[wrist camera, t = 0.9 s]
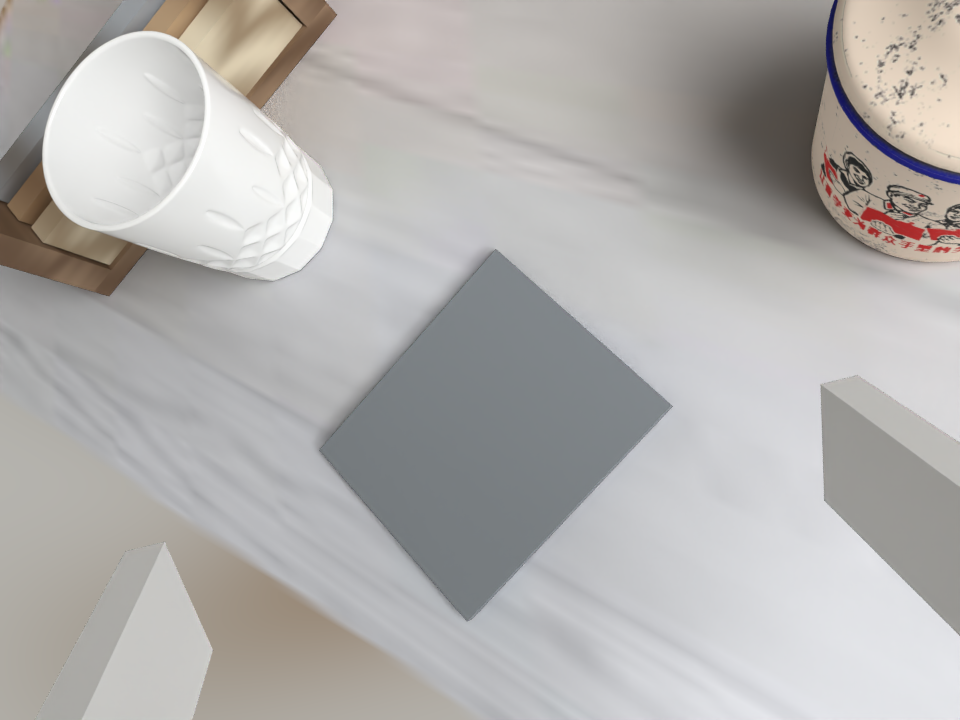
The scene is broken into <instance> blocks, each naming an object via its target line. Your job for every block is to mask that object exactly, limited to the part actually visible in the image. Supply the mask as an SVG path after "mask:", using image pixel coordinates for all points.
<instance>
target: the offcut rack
mask: <svg viewBox="0 0 960 720" xmlns="http://www.w3.org/2000/svg"><path fill="white" fill-rule="evenodd" d="M336 15H337V14H336V13H335V12H334V11H333V10H332V8H331V7H330V6H329V5H328V4H327V3H326V2H325V0H123V2H122V3H121V4H120V5H119V7H118V8H117V9H116V11H115V12H114V13H113V15H112V16H111V17H110V19H109V20H108V21H107V22H106V24H105V25H104V26H103V28H102V29H101V30H100V32H99V33H98V34H97V35H96V37H95V38H94V39H93V41H92V42H91V43H90V45H89V46H88V47H87V49H86V50H85V51H84V52H83V54H82V55H81V56H80V58H79V59H78V60H77V62H76V63H75V64H74V65H73V67H72V68H71V69H70V71H69V72H68V73H67V75H66V76H65V77H64V79H63V80H62V81H61V82H60V84H59V85H58V86H57V88H56V89H55V90H54V92H53V93H52V94H51V95H50V97H49V98H48V99H47V101H46V102H45V103H44V105H43V106H42V107H41V109H40V110H39V111H38V112H37V114H36V115H35V116H34V118H33V119H32V120H31V122H30V123H29V124H28V125H27V127H26V128H25V129H24V131H23V132H22V133H21V135H20V136H19V137H18V138H17V140H16V141H15V142H14V144H13V145H12V146H11V148H10V149H9V150H8V152H7V153H6V154H5V155H4V157H3V158H2V159H1V161H0V265H3V266H7V267H10V268H14V269H17V270H21V271H24V272H28V273H31V274H34V275H38V276H41V277H45V278H48V279H52V280H55V281H58V282H62V283H65V284H69V285H72V286H76V287H79V288H83V289H86V290H89V291H93V292H96V293H100V294H103V295H107V296H110V294H111V293H112V292H113V291H114V290H115V288H116V287H117V286H118V285H119V283H120V282H121V281H122V280H123V278H124V277H125V276H126V275H127V273H128V272H129V271H130V270H131V269H132V267H133V266H134V265H135V264H136V262H137V261H138V260H139V259H140V257H141V256H142V255H143V254H144V252H145V251H146V250H147V249H148V248H145V247H142V246H139V245H136V244H133V243H130V242H127V241H124V240H121V239H118V238H115V237H112V236H109V235H106V234H103V233H100V232H97V231H94V230H90V229H87V228H85V227H82V226H80V225H78V224H76V223H74V222H73V221H71V220H70V219H69V218H67V217H66V216H65V215H64V214H63V213H62V212H61V211H60V209H59V208H58V207H57V206H56V204H55V203H54V201H53V199H52V197H51V195H50V193H49V190H48V188H47V185H46V181H45V177H44V172H43V164H42V147H43V138H44V132H45V128H46V124H47V120H48V117H49V114H50V111H51V108H52V106H53V104H54V101H55V99H56V97H57V95H58V93H59V92H60V90H61V88H62V86H63V85H64V83H65V82H66V80H67V79H68V77H69V76H70V75H71V73H72V72H73V71H74V70H75V68H76V67H77V66H78V65H79V64H80V63H81V62H82V61H83V60H84V59H85V58H86V57H87V56H88V55H89V54H91V53H92V52H93V51H94V50H96V49H97V48H98V47H100V46H101V45H103V44H105V43H106V42H108V41H110V40H112V39H114V38H116V37H119V36H121V35H124V34H128V33H132V32H137V31H156V32H161V33H165V34H168V35H171V36H173V37H175V38H177V39H178V40H180V41H181V42H183V43H184V44H185V45H187V46H188V47H189V48H190V49H191V50H192V51H193V52H194V53H196V54H197V55H198V56H199V57H200V58H201V59H203V60H204V61H205V62H206V63H207V64H208V65H209V66H211V67H212V68H213V69H214V70H215V71H216V72H218V73H219V74H220V75H221V76H222V77H223V78H225V79H226V80H227V81H228V82H229V83H230V84H232V85H233V86H234V87H235V88H236V89H237V90H239V91H240V92H241V93H242V94H243V95H244V96H246V97H247V98H248V99H249V100H250V101H251V102H253V103H254V104H255V105H256V106H257V107H258V108H259V109H261V108H262V107H263V106H264V104H265V103H266V102H267V101H268V99H269V98H270V97H271V96H272V94H273V93H274V92H275V91H276V89H277V88H278V87H279V86H280V85H281V83H282V82H283V81H284V80H285V78H286V77H287V76H288V75H289V73H290V72H291V71H292V70H293V68H294V67H295V66H296V65H297V64H298V62H299V61H300V60H301V59H302V57H303V56H304V55H305V54H306V52H307V51H308V50H309V49H310V47H311V46H312V45H313V44H314V43H315V41H316V40H317V39H318V38H319V36H320V35H321V34H322V33H323V31H324V30H325V29H326V28H327V26H328V25H329V24H330V23H331V22H332V20H333V19H334V18H335V17H336Z"/></svg>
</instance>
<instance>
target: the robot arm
mask: <svg viewBox="0 0 960 720" xmlns="http://www.w3.org/2000/svg"><path fill="white" fill-rule="evenodd" d="M821 414H822V445H823V476H824V501H825V502H826V503H827V504H828V505H829V506H830V507H831V508H832V509H833V510H834V511H835V512H836V513H837V514H838V515H839V516H840V517H841V518H842V519H843V520H844V521H845V522H846V523H847V524H848V525H849V526H850V527H851V528H852V529H853V530H854V531H855V532H856V533H857V534H858V535H859V536H860V537H861V538H862V539H863V540H864V541H865V542H866V543H867V544H868V545H869V546H870V547H871V548H872V549H873V550H874V551H875V552H876V553H877V554H878V555H879V556H880V557H881V558H882V559H883V560H884V561H885V562H886V563H887V564H888V565H889V566H890V567H891V568H892V569H893V570H894V571H895V572H896V573H897V574H898V575H899V576H900V577H901V578H902V579H903V580H904V581H905V582H906V583H907V584H908V585H909V586H910V587H911V588H912V589H913V590H914V591H915V592H916V593H917V594H918V595H919V596H921V597H922V598H923V599H924V600H925V601H926V602H927V603H928V604H929V605H930V606H931V607H932V608H933V609H934V610H935V611H936V612H937V613H938V614H939V615H940V616H941V617H942V618H943V619H944V620H945V621H946V622H947V623H948V624H949V625H950V626H951V627H952V628H953V629H954V630H955V631H956V632H957V633H958V634H959V635H960V443H959V442H958V441H956V440H955V439H953V438H952V437H950V436H949V435H947V434H946V433H944V432H943V431H941V430H940V429H938V428H937V427H935V426H934V425H932V424H931V423H929V422H928V421H926V420H925V419H923V418H922V417H920V416H919V415H917V414H916V413H914V412H913V411H911V410H909V409H908V408H906V407H905V406H903V405H902V404H900V403H899V402H897V401H896V400H894V399H893V398H891V397H890V396H888V395H887V394H885V393H884V392H882V391H881V390H879V389H878V388H876V387H875V386H873V385H872V384H870V383H869V382H867V381H866V380H864V379H863V378H861V377H860V376H858V375H857V376H853V377H849V378H844V379H840V380H836V381H832V382H828V383H824V384H821ZM212 652H213V649H212V647H211V645H210V642H209V640H208V638H207V636H206V633H205V631H204V629H203V627H202V624H201V622H200V620H199V618H198V616H197V613H196V611H195V609H194V607H193V604H192V602H191V600H190V598H189V595H188V593H187V591H186V589H185V586H184V584H183V582H182V580H181V577H180V575H179V573H178V571H177V568H176V566H175V564H174V562H173V559H172V557H171V555H170V553H169V550H168V548H167V546H166V544H165V542H162V543H157V544H153V545H149V546H145V547H141V548H137V549H132V550H128V551H125V553H124V555H123V556H122V558H121V560H120V562H119V564H118V566H117V568H116V569H115V571H114V573H113V575H112V577H111V579H110V581H109V583H108V584H107V586H106V588H105V590H104V592H103V594H102V596H101V597H100V599H99V601H98V603H97V605H96V607H95V609H94V610H93V612H92V614H91V616H90V618H89V620H88V622H87V624H86V625H85V627H84V629H83V631H82V633H81V635H80V636H79V638H78V640H77V642H76V644H75V646H74V648H73V650H72V651H71V653H70V655H69V657H68V659H67V661H66V662H65V665H64V666H63V668H62V670H61V672H60V674H59V675H58V677H57V679H56V681H55V683H54V685H53V687H52V689H51V690H50V692H49V694H48V696H47V698H46V700H45V701H44V703H43V705H42V707H41V709H40V711H39V713H38V714H37V716H36V718H35V720H192V719H193V716H194V712H195V709H196V706H197V702H198V699H199V696H200V692H201V689H202V686H203V682H204V679H205V675H206V672H207V669H208V665H209V662H210V658H211V655H212Z"/></svg>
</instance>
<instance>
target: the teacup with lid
mask: <svg viewBox="0 0 960 720" xmlns="http://www.w3.org/2000/svg"><path fill="white" fill-rule="evenodd" d="M826 59H827V68H828V70H827V75H826V79H825V84H824V89H823V94H822V99H821V103H820V108H819V113H818V118H817V123H816V127H815V132H814V137H813V143H812V156H811V162H812V171H813V176H814V181H815V184H816V187H817V190H818V193H819V195H820V197H821V199H822V201H823V203H824V205H825V206H826V208H827V210H828V211H829V213H830V214H831V215H832V216H833V218H834V219H835V220H836V221H837V222H838V223H839V224H840V225H841V226H842V227H843V228H844V229H845V230H846V231H847V232H848V233H850V234H851V235H852V236H854V237H855V238H857V239H858V240H859V241H861V242H863V243H864V244H866V245H868V246H870V247H872V248H874V249H876V250H879V251H881V252H883V253H886V254H889V255H892V256H895V257H899V258H904V259H908V260H915V261H923V262H950V261H960V0H834V3H833V6H832V9H831V13H830V17H829V21H828V27H827V35H826Z"/></svg>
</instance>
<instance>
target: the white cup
mask: <svg viewBox="0 0 960 720" xmlns="http://www.w3.org/2000/svg"><path fill="white" fill-rule="evenodd" d="M42 164H43V172H44V177H45V181H46V185H47V188H48V190H49V193H50V195H51V197H52V199H53V201H54V203H55V204H56V206H57V207H58V208H59V209H60V211H61V212H62V213H63V214H64V215H65V216H66V217H67V218H69V219H70V220H71V221H73V222H74V223H76V224H78V225H80V226H82V227H85V228H87V229H90V230H94V231H97V232H100V233H103V234H106V235H109V236H112V237H115V238H118V239H121V240H124V241H127V242H130V243H133V244H136V245H139V246H142V247H145V248H148V249H151V250H154V251H157V252H160V253H163V254H166V255H169V256H172V257H176V258H179V259H183V260H186V261H190V262H194V263H197V264H200V265H203V266H206V267H209V268H213V269H217V270H221V271H228V272H230V273H233V274H236V275H239V276H242V277H245V278H249V279H258V280H268V281H276V280H278V279H281V278H283V277H285V276H288V275H290V274H293V273H295V272H298V271H300V270H301V269H302V268H303V267H304V266H305V265H306V264H307V263H308V262H309V261H310V260H311V259H312V258H313V257H314V256H315V255H316V254H317V253H318V252H319V250H320V249H321V248H322V246H323V243H324V241H325V239H326V236H327V234H328V231H329V229H330V226H331V224H332V221H333V190H332V188H331V186H330V184H329V182H328V180H327V178H326V176H325V174H324V172H323V170H322V168H321V166H320V165H319V164H318V163H317V162H316V161H315V160H313V159H312V158H311V157H310V156H309V155H307V154H306V153H305V152H304V151H303V150H301V149H300V148H299V147H298V146H297V145H296V144H295V143H294V142H293V141H292V140H291V139H290V137H289V136H288V135H287V134H286V133H285V132H284V131H283V130H282V129H281V128H280V127H279V126H278V125H276V124H275V123H274V122H273V121H272V120H271V119H270V118H268V117H267V116H266V115H265V114H264V113H263V112H262V111H261V110H260V109H259V108H258V107H257V106H256V105H255V104H254V103H253V102H251V101H250V100H249V99H248V98H247V97H246V96H244V95H243V94H242V93H241V92H240V91H239V90H237V89H236V88H235V87H234V86H233V85H232V84H230V83H229V82H228V81H227V80H226V79H225V78H223V77H222V76H221V75H220V74H219V73H218V72H216V71H215V70H214V69H213V68H212V67H211V66H209V65H208V64H207V63H206V62H205V61H204V60H203V59H201V58H200V57H199V56H198V55H197V54H196V53H194V52H193V51H192V50H191V49H190V48H189V47H188V46H187V45H185V44H184V43H183V42H181V41H180V40H178V39H177V38H175V37H173V36H171V35H168V34H165V33H161V32H156V31H137V32H132V33H128V34H124V35H121V36H119V37H116V38H114V39H112V40H110V41H108V42H106V43H105V44H103V45H101V46H100V47H98V48H97V49H96V50H94V51H93V52H92V53H91V54H89V55H88V56H87V57H86V58H85V59H84V60H83V61H82V62H81V63H80V64H79V65H78V66H77V67H76V68H75V70H74V71H73V72H72V73H71V75H70V76H69V77H68V79H67V80H66V82H65V83H64V85H63V86H62V88H61V90H60V92H59V93H58V95H57V97H56V99H55V101H54V104H53V106H52V108H51V111H50V114H49V117H48V120H47V124H46V128H45V132H44V138H43V147H42Z"/></svg>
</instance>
